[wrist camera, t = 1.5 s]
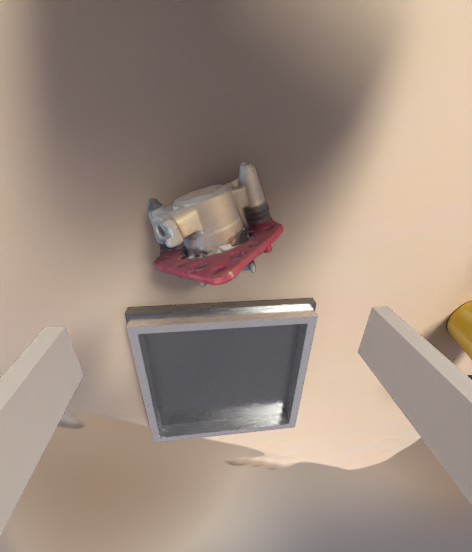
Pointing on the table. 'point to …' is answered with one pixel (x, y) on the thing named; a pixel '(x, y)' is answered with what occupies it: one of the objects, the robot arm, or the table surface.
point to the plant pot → (462, 327)
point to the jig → (221, 365)
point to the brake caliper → (214, 230)
